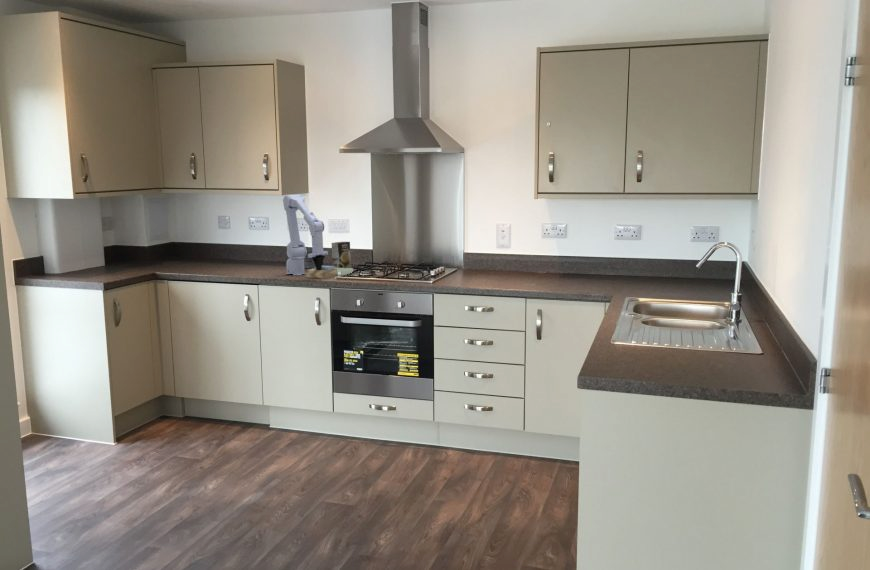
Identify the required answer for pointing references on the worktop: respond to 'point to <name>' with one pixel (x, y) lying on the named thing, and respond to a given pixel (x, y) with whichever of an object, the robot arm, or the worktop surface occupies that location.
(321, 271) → the tan flat block
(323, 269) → the blue rectangular block
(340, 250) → the coffee box
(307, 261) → the small box
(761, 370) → the worktop surface
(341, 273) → the tray
